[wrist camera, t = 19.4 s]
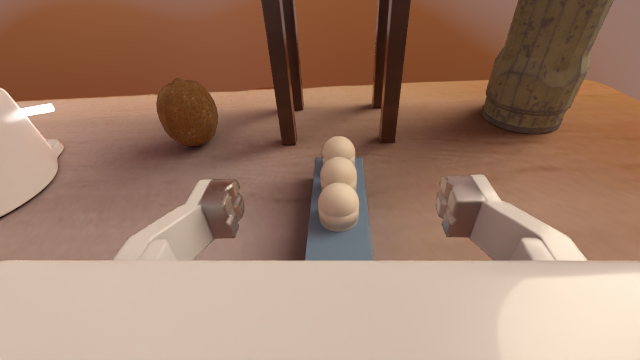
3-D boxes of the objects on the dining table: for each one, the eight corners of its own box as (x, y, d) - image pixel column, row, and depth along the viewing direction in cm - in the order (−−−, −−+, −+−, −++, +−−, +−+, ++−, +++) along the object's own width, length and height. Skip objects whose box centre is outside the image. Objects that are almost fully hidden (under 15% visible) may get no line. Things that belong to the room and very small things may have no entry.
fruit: (234, 142, 37) (217, 76, 32) (185, 164, 34) (158, 95, 29) (210, 126, 41) (191, 65, 36) (163, 145, 38) (136, 80, 33)
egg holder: (381, 382, 16) (389, 333, 13) (298, 379, 17) (287, 331, 13) (361, 176, 31) (363, 129, 27) (317, 177, 31) (313, 130, 28)
